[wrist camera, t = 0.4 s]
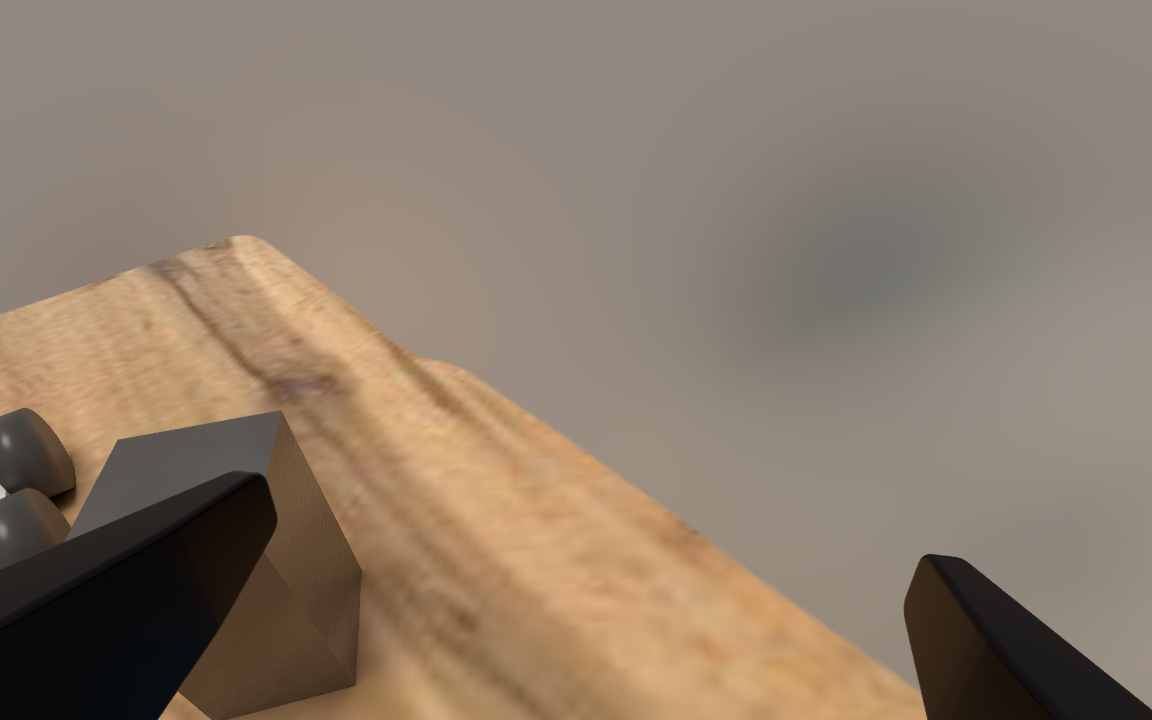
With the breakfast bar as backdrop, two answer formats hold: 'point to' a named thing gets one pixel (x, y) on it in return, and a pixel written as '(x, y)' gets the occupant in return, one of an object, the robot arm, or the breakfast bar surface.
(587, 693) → the breakfast bar surface
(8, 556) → the chassis
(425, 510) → the breakfast bar surface
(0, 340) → the breakfast bar surface
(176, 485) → the block
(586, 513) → the breakfast bar surface
